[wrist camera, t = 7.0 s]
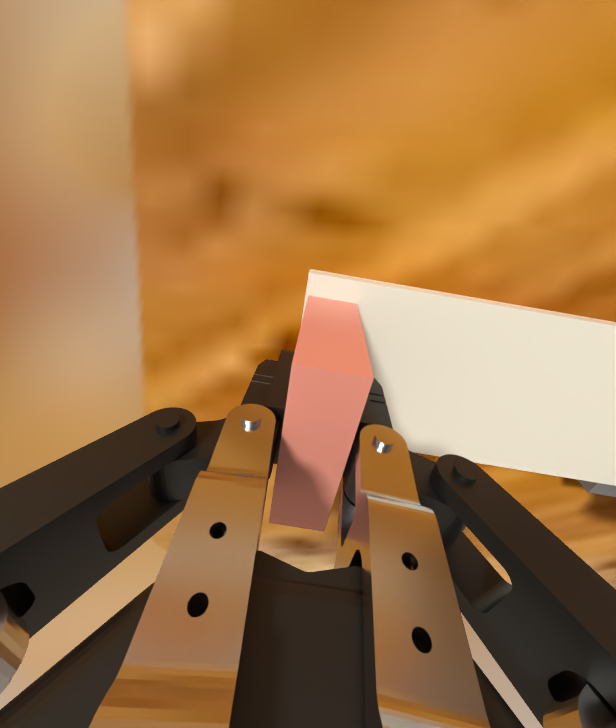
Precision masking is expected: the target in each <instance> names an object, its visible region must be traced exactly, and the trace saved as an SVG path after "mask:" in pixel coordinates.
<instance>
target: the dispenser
mask: <svg viewBox="0 0 616 728" xmlns="http://www.w3.org/2000/svg"><path fill="white" fill-rule="evenodd" d="M577 480H578V479H577ZM578 482H579V483H580V484H581V485H582V486H583V487H584V488H585V490H586V491H587V492H588V493H594V494H600V495H606V496H612V497H616V486H614V485H608V484H602V483H596V482H590V481H584V480H578Z"/></svg>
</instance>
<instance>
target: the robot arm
mask: <svg viewBox="0 0 616 728" xmlns="http://www.w3.org/2000/svg"><path fill="white" fill-rule="evenodd" d="M294 353H295V352H294V351H289V350H283V349H282V350H281V353H280V356H279V360H278V361H273V360H267V359H266V360H265V361H263V362H262V363H261V364H259V365H258V367H257V369H256V371H255V374H254V376H253V378H252V381H251V383H250V385H249V387H248V389H247V392H246V394H245V396H244V399H243V401H242V403H241V405H240V406H237V407H235V408H234V409H232V410H231V411H230V412H229V413H228V415H227V417H226V418H224V419H221V420H217V421H206V422H196V419H195V416H194V415H193V414H192V413H191V412H190V411H188V410H185V409H182V408H164V409H160V410H157V411H155V412H152V413H150V414H148V415H146V416H144V417H142V418H140V419H138V420H136V421H134V422H132V423H130V424H128V425H126V426H124V427H122V428H120V429H118V430H116V431H114V432H112V433H110V434H108V435H106V436H104V437H102V438H100V439H98V440H96V441H94V442H92V443H90V444H88V445H86V446H84V447H82V448H80V449H78V450H76V451H74V452H72V453H70V454H68V455H66V456H64V457H62V458H60V459H58V460H56V461H54V462H52V463H50V464H48V465H46V466H44V467H42V468H40V469H38V470H36V471H34V472H32V473H30V474H28V475H26V476H24V477H22V478H20V479H18V480H16V481H14V482H12V483H10V484H8V485H6V486H4V487H2V488H0V694H1V693H2V692H3V690H4V689H5V688H6V687H7V685H8V684H9V683H10V681H11V679H12V677H13V675H14V674H15V672H16V671H17V669H18V667H19V666H20V664H21V662H22V660H23V658H24V656H25V653H26V650H27V647H28V643H29V639H30V638H31V637H32V636H33V635H34V634H36V633H37V632H38V631H39V630H40V629H42V628H43V627H44V626H45V625H46V624H48V623H49V622H50V621H51V620H52V619H53V618H55V617H56V616H57V615H58V614H59V613H61V612H62V611H63V610H64V609H66V608H67V607H68V606H69V605H70V604H71V603H73V602H74V601H75V600H76V599H77V598H78V597H80V596H81V595H82V594H83V593H85V592H86V591H87V590H88V589H89V588H91V587H92V586H93V585H94V584H95V583H96V582H98V581H99V580H100V579H101V578H103V577H104V576H105V575H106V574H107V573H109V572H110V571H111V570H112V569H113V568H115V567H116V566H117V565H118V564H119V563H121V562H122V561H123V560H124V559H125V558H126V557H128V556H129V555H130V554H131V553H133V552H134V551H135V550H136V549H137V548H139V547H140V546H141V545H142V544H143V543H144V542H146V541H147V540H148V539H149V538H151V537H152V536H153V535H154V534H155V533H157V532H158V531H159V530H160V529H161V528H163V527H164V526H165V525H166V524H167V523H169V522H170V521H171V520H172V519H173V518H175V517H176V516H177V515H178V514H179V513H181V512H182V511H183V513H182V515H181V518H180V520H179V523H178V525H177V528H176V530H175V533H174V535H173V538H172V540H171V543H170V545H169V548H168V550H167V553H166V555H165V558H164V560H163V563H162V566H161V568H160V571H159V573H158V576H157V578H156V581H155V582H154V583H153V584H151V585H150V586H149V587H148V588H146V589H145V590H144V591H143V592H141V593H140V594H139V595H138V596H137V597H135V598H134V599H133V600H132V601H131V602H129V603H128V604H127V605H126V606H125V607H124V608H122V609H121V610H120V611H119V612H117V613H116V614H115V615H114V616H113V617H111V618H110V619H109V620H108V621H107V622H106V623H104V624H103V625H102V626H101V627H100V628H98V629H97V630H96V631H95V632H93V633H92V634H91V635H90V636H89V637H87V638H86V639H85V640H84V641H83V642H81V643H80V644H79V645H78V646H76V647H75V648H74V649H73V650H72V651H70V652H69V653H68V654H67V655H66V656H64V658H62V659H61V660H60V661H58V662H57V663H56V664H55V665H54V666H52V667H51V668H50V669H49V670H48V671H46V672H45V673H44V674H43V675H42V676H40V677H39V678H38V679H37V680H36V681H34V682H33V683H32V684H31V685H30V686H28V687H27V688H26V689H25V690H24V691H22V692H21V693H20V694H19V695H18V696H16V697H15V698H14V699H13V700H12V701H10V702H9V703H8V704H7V705H6V706H4V707H3V708H2V709H1V710H0V728H525V727H524V726H523V725H522V724H521V722H520V721H519V719H518V718H517V717H516V715H515V714H514V713H513V711H512V710H511V709H510V708H509V706H508V705H507V704H506V702H505V701H504V699H503V698H502V697H501V695H500V694H499V693H498V692H497V690H496V689H495V688H494V686H493V685H492V684H491V682H490V681H489V680H488V678H487V677H486V676H485V674H484V673H483V672H482V670H481V669H480V668H479V666H478V665H477V664H476V662H475V661H474V660H473V658H472V655H471V652H470V648H469V644H468V640H467V636H466V633H465V628H464V624H463V620H462V616H461V612H462V614H463V615H464V617H465V618H466V620H467V621H468V622H469V624H470V625H471V627H472V628H473V630H474V631H475V632H476V634H477V635H478V636H479V638H480V639H481V641H482V642H483V643H484V645H485V646H486V648H487V649H488V651H489V652H490V653H491V655H492V656H493V658H494V659H495V661H496V662H497V663H498V665H499V666H500V667H501V669H502V670H503V672H504V673H505V675H506V676H507V677H508V679H509V680H510V681H511V683H512V684H513V686H514V687H515V689H516V690H517V691H518V693H519V694H520V696H521V697H522V699H523V700H524V701H525V703H526V704H527V706H528V707H529V708H530V710H531V711H532V713H533V714H534V715H535V717H536V718H537V720H538V721H539V722H540V724H541V725H542V727H543V728H616V590H615V589H614V588H613V587H612V586H611V585H610V584H609V583H607V582H606V581H605V580H604V579H603V578H602V577H601V576H600V575H599V574H597V573H596V572H595V571H594V570H593V569H592V568H591V567H590V566H589V565H587V564H586V563H585V562H584V561H583V560H582V559H581V558H580V557H579V556H577V555H576V554H575V553H574V552H573V551H572V550H571V549H570V548H569V547H568V546H566V545H565V544H564V543H563V542H562V541H561V540H560V539H559V538H558V537H556V536H555V535H554V534H553V533H552V532H551V531H550V530H549V529H548V528H546V527H545V526H544V525H543V524H542V523H541V522H540V521H539V520H538V519H536V518H535V517H534V516H533V515H532V514H531V513H530V512H529V511H528V510H527V509H525V508H524V507H523V506H522V505H521V504H520V503H519V502H518V501H517V500H515V499H514V498H513V497H512V496H511V495H510V494H509V493H508V492H507V491H505V490H504V489H503V488H502V487H501V486H500V485H499V484H498V483H497V482H495V481H494V480H493V479H492V478H491V477H490V476H489V475H488V474H487V473H485V472H484V471H483V470H482V469H481V468H480V467H479V466H477V465H476V464H475V463H473V462H472V461H470V460H468V459H466V458H464V457H462V456H459V455H454V454H446V455H443V456H441V457H440V458H439V459H438V461H437V463H436V462H433V461H431V460H428V459H426V458H424V457H421V456H419V455H417V454H415V453H413V452H411V451H409V450H408V447H407V444H406V442H405V440H404V439H403V437H402V436H401V435H400V434H399V433H397V432H396V431H395V430H393V427H392V423H391V419H390V416H389V412H388V408H387V404H386V400H385V397H384V393H383V389H382V386H381V385H380V383H379V382H378V381H377V380H376V379H375V378H374V379H373V382H372V385H371V388H370V391H369V394H368V397H367V401H366V404H365V407H364V410H363V413H362V416H361V419H360V422H359V425H358V428H357V431H356V435H355V438H354V441H353V444H352V447H351V450H350V453H349V456H348V459H347V462H346V465H345V469H344V472H343V486H342V489H341V492H340V501H339V520H338V540H337V555H336V561H335V566H334V569H331V570H324V571H317V572H305V571H302V570H300V569H298V568H296V567H294V566H292V565H289V564H287V563H285V562H283V561H281V560H279V559H277V558H275V557H273V556H271V555H268V554H266V553H264V552H262V551H258V549H259V541H260V534H261V527H262V520H263V513H264V506H265V499H266V492H267V486H268V480H269V478H270V476H271V472H272V467H273V463H274V464H277V463H278V456H279V449H280V442H281V435H282V428H283V421H284V414H285V407H286V401H287V394H288V387H289V380H290V373H291V366H292V361H293V357H294ZM466 526H467V527H468V528H469V529H470V531H471V532H472V533H473V534H474V535H475V536H476V537H477V538H478V539H479V541H480V542H481V543H482V544H483V545H484V546H485V547H486V548H487V550H488V551H489V552H490V553H491V554H492V555H493V556H494V557H495V559H496V560H497V561H498V562H499V563H500V564H501V565H502V566H503V568H504V569H505V570H506V572H507V573H508V575H509V577H510V579H511V582H512V585H511V584H509V583H508V582H506V581H505V580H504V579H503V578H502V577H501V576H500V575H499V574H498V572H497V571H496V570H495V569H494V568H493V567H492V565H491V564H490V563H489V562H488V561H487V560H486V559H485V557H484V556H483V555H482V554H481V553H480V552H479V550H478V549H477V548H476V547H475V546H474V545H473V544H472V542H471V541H470V540H469V539H468V538H467V537H466V535H465V534H464V533H463V532H462V531H463V530H464V529H465V527H466ZM460 611H461V612H460Z"/></svg>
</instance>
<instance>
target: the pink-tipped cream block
mask: <svg viewBox="0 0 616 728" xmlns="http://www.w3.org/2000/svg"><path fill="white" fill-rule="evenodd" d="M374 378H375V379H376V380H377V381H378V382H379V383H380V385H381V386H382V389H383V393H384V397H385V400H386V404H387V408H388V412H389V416H390V419H391V423H392V427H393V430H395V431H396V432H397V433H399V434H400V435H401V436H402V437H403V439H404V440H405V442H406V444H407V447H408V450H409V451H411V452H415V453H421V454H427V455H433V456H439V457H441V456H443V455H446V454H454V455H459V456H462V457H464V458H466V459H468V460H470V461H472V462H475V463H481V464H487V465H493V466H499V467H505V468H511V469H517V470H523V471H529V472H535V473H541V474H548V475H554V476H560V477H566V478H572V479H578V480H584V481H590V482H596V483H602V484H608V485H614V486H616V322H612V321H606V320H600V319H595V318H589V317H583V316H577V315H572V314H566V313H560V312H554V311H549V310H543V309H537V308H531V307H526V306H520V305H514V304H508V303H503V302H497V301H491V300H486V299H480V298H474V297H468V296H463V295H457V294H451V293H445V292H440V291H434V290H428V289H422V288H417V287H411V286H405V285H399V284H394V283H388V282H382V281H377V280H371V279H365V278H359V277H354V276H348V275H342V274H336V273H331V272H325V271H319V270H313V269H310V271H309V276H308V283H307V289H306V296H305V302H304V309H303V316H302V322H301V328H300V332H299V336H298V340H297V344H296V349H295V353H294V357H293V361H292V366H291V373H290V380H289V387H288V394H287V401H286V407H285V414H284V421H283V428H282V435H281V442H280V449H279V456H278V463H277V470H276V477H275V484H274V490H273V497H272V504H271V511H270V518H269V523H275V524H281V525H287V526H293V527H299V528H306V529H312V530H318V531H324V530H325V527H326V524H327V521H328V518H329V515H330V512H331V509H332V506H333V502H334V499H335V496H336V493H337V490H338V487H339V484H340V481H341V478H342V475H343V472H344V469H345V465H346V462H347V459H348V456H349V453H350V450H351V447H352V444H353V441H354V438H355V435H356V431H357V428H358V425H359V422H360V419H361V416H362V413H363V410H364V407H365V404H366V401H367V397H368V394H369V391H370V388H371V385H372V382H373V379H374Z"/></svg>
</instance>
